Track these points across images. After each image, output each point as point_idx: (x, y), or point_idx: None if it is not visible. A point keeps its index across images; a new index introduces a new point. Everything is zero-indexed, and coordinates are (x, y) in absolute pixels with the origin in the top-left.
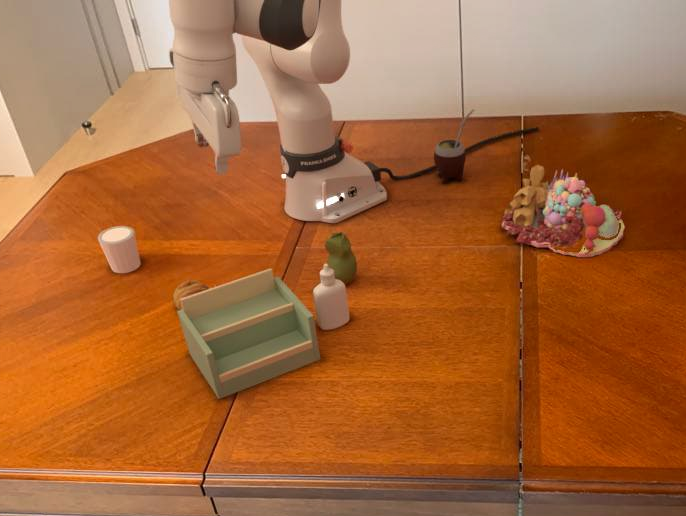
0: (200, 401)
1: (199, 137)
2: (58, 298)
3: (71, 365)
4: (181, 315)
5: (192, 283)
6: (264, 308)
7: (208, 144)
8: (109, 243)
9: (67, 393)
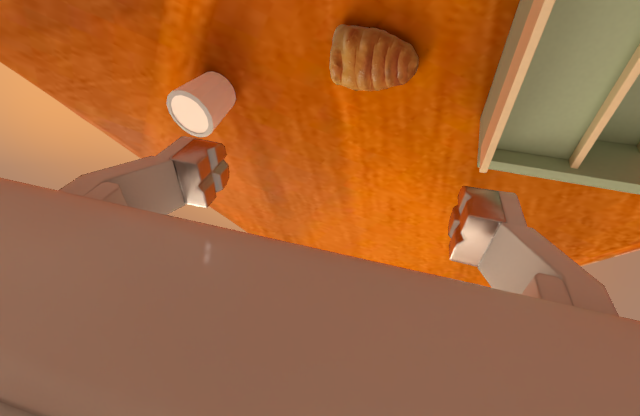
0: None
1: (206, 200)
2: (261, 171)
3: (389, 210)
4: (497, 168)
5: (339, 57)
6: (609, 8)
7: (219, 145)
8: (210, 130)
9: (432, 230)
